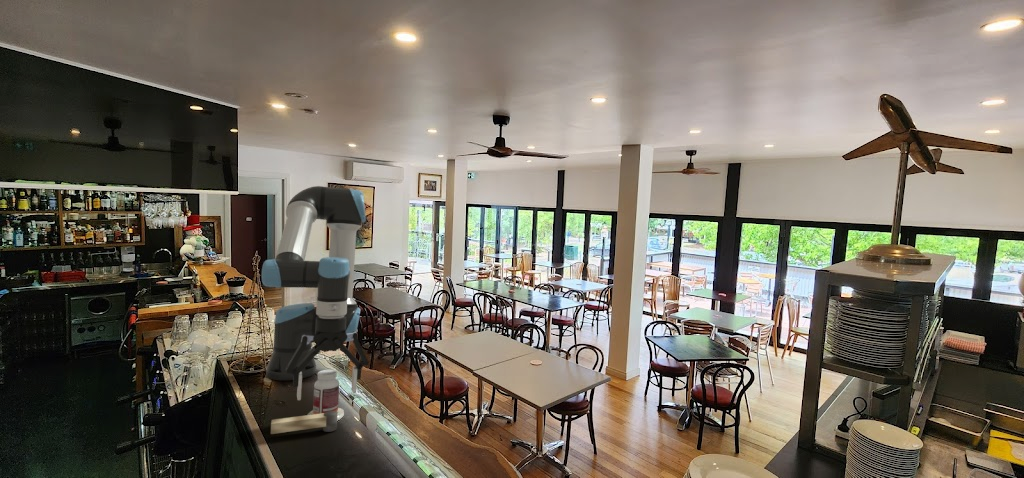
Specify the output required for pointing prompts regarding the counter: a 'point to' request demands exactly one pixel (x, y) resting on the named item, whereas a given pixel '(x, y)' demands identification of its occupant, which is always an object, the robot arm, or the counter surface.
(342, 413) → the seat pad
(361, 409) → the counter surface
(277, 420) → the hinged leg
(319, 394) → the pill bottle
